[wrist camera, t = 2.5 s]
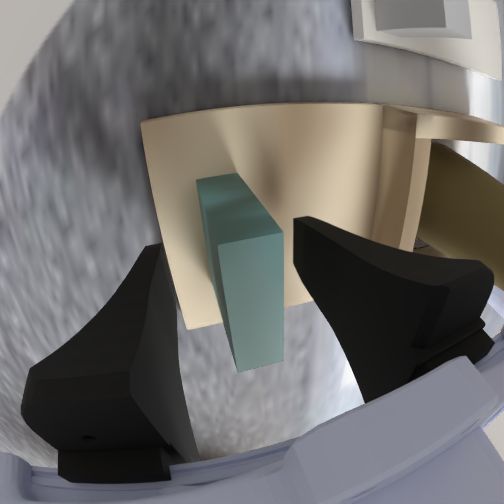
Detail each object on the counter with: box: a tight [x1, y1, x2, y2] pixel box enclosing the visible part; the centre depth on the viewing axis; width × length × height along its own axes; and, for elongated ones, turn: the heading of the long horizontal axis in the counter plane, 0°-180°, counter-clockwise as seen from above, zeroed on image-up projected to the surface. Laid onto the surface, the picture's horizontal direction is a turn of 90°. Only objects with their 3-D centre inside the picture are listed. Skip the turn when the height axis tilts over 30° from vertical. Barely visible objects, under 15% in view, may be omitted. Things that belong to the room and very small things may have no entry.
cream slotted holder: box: [140, 102, 504, 372], centre depth 12 cm, size 18×10×6 cm, turn 94°
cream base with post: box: [351, 0, 502, 81], centre depth 8 cm, size 12×6×5 cm, turn 94°
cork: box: [416, 143, 504, 291], centre depth 11 cm, size 6×6×11 cm
